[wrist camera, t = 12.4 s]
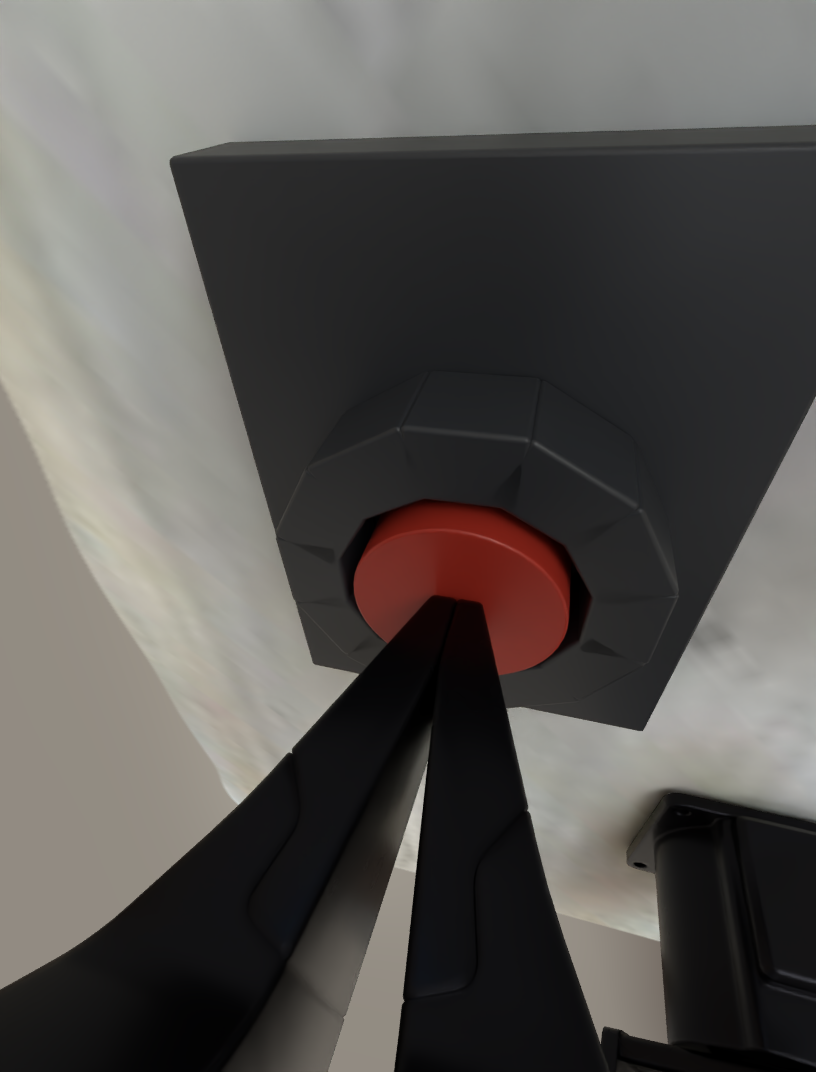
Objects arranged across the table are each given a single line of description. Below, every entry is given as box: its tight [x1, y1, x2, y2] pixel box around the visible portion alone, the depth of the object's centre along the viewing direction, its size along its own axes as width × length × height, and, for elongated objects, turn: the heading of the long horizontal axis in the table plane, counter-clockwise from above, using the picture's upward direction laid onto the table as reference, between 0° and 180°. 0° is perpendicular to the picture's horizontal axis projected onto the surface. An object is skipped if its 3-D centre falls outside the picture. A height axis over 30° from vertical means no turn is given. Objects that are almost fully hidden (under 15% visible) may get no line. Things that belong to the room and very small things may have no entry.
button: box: [353, 499, 572, 675], centre depth 9 cm, size 4×4×2 cm
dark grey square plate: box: [170, 125, 816, 731], centre depth 10 cm, size 12×9×4 cm
